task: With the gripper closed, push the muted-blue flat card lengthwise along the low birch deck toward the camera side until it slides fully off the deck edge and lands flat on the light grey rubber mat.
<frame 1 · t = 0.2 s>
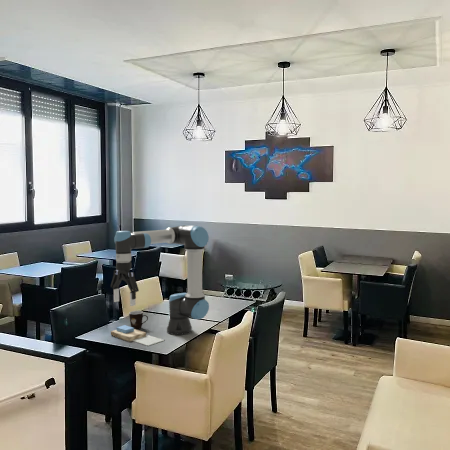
hand: (124, 303, 224), 28 cm above the table, tool pointing down, fingers open, 13 cm apart
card: (125, 330, 264), point 2 cm above the table, touching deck
mat: (148, 340, 253), on the table
coffee mug: (137, 329, 277), on the table
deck: (128, 336, 262), on the table
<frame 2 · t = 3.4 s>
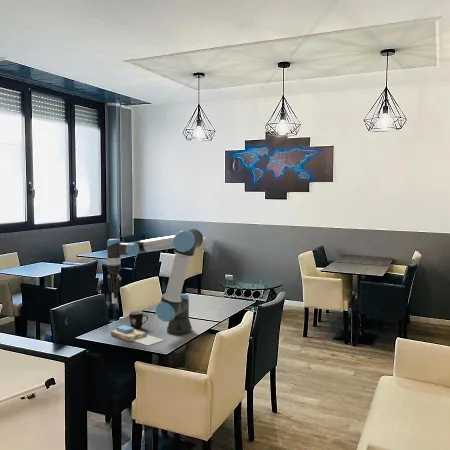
hand: (114, 303, 270), 18 cm above the table, tool pointing down, fingers closed
nothing on the table moved.
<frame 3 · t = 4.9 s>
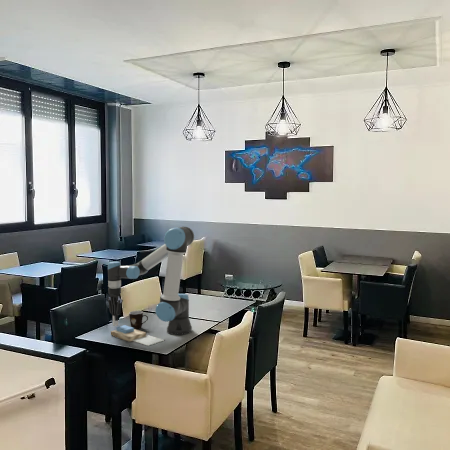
hand: (115, 325, 270), 4 cm above the table, tool pointing down, fingers closed
nothing on the table moved.
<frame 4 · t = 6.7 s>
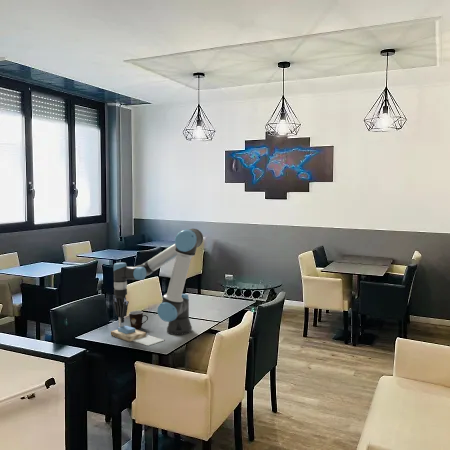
hand: (121, 327, 266), 4 cm above the table, tool pointing down, fingers closed
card: (126, 331, 263), point 3 cm above the table, touching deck
everything else where it was.
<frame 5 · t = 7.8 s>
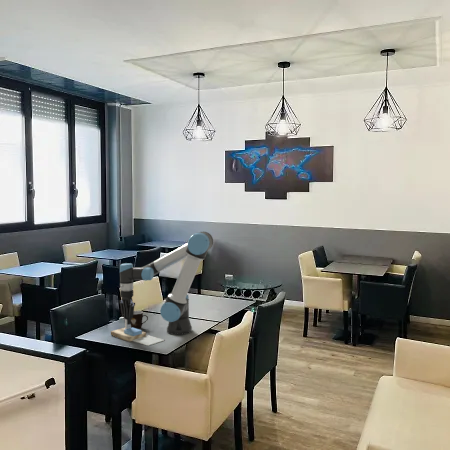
hand: (127, 329, 262), 4 cm above the table, tool pointing down, fingers closed
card: (133, 333, 259), point 3 cm above the table, touching gripper
everything else where it was.
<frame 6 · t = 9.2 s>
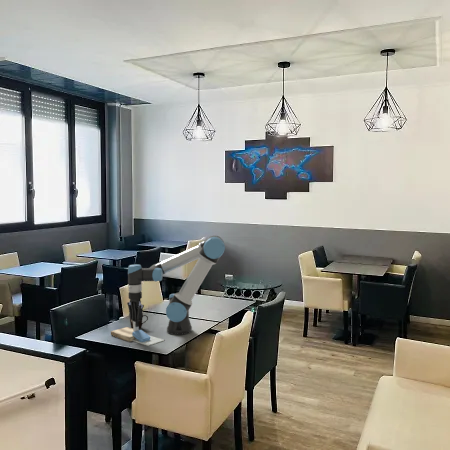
hand: (136, 331, 257), 4 cm above the table, tool pointing down, fingers closed
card: (140, 337, 254), point 2 cm above the table, tilted 16°, touching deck, gripper, mat
everything else where it was.
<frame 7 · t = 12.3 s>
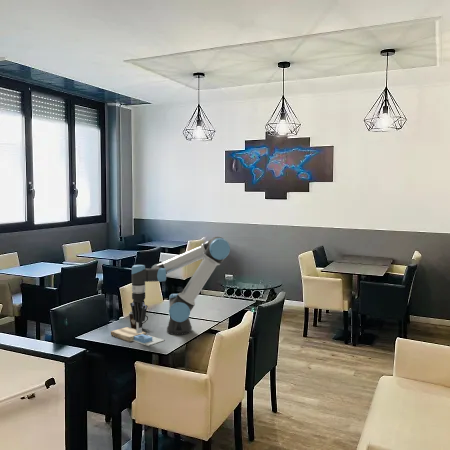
hand: (139, 332, 255), 4 cm above the table, tool pointing down, fingers closed
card: (143, 340, 253), resting on mat
everything else where it was.
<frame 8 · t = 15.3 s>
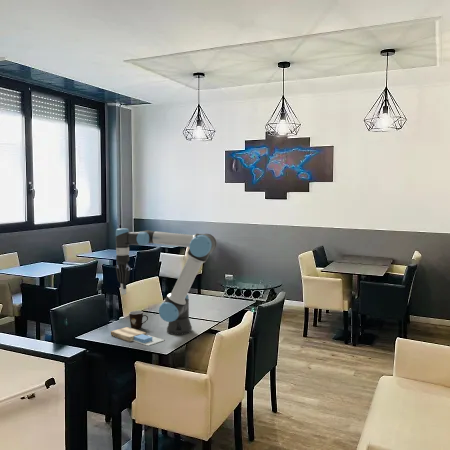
hand: (123, 294, 263), 24 cm above the table, tool pointing down, fingers closed
nothing on the table moved.
at the end: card resting on mat; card inside the target area on the mat (3.0 cm from its centre), point 0.4 cm above the mat's base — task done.
